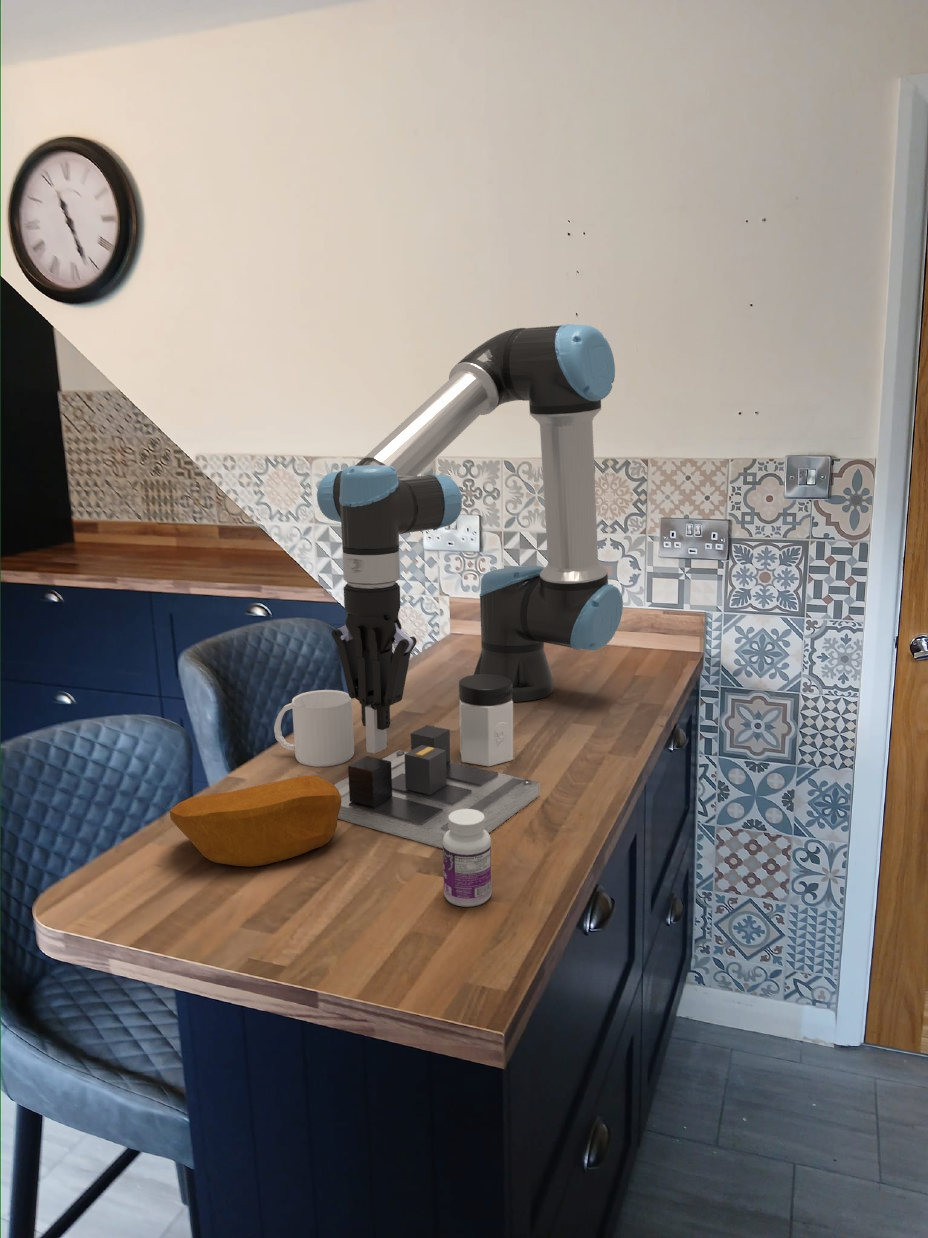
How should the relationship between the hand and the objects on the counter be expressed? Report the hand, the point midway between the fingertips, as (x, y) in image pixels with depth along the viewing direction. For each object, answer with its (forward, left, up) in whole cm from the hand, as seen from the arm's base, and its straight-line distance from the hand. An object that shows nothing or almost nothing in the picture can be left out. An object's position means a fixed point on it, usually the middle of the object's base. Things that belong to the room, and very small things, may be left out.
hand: (376, 749), depth 134 cm
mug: (-6, -17, -7) cm, 19 cm away
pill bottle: (+18, +26, -7) cm, 32 cm away
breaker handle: (0, +8, -4) cm, 9 cm away
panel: (0, +8, -6) cm, 10 cm away
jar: (-19, +6, -7) cm, 21 cm away
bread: (+21, -3, -7) cm, 22 cm away
